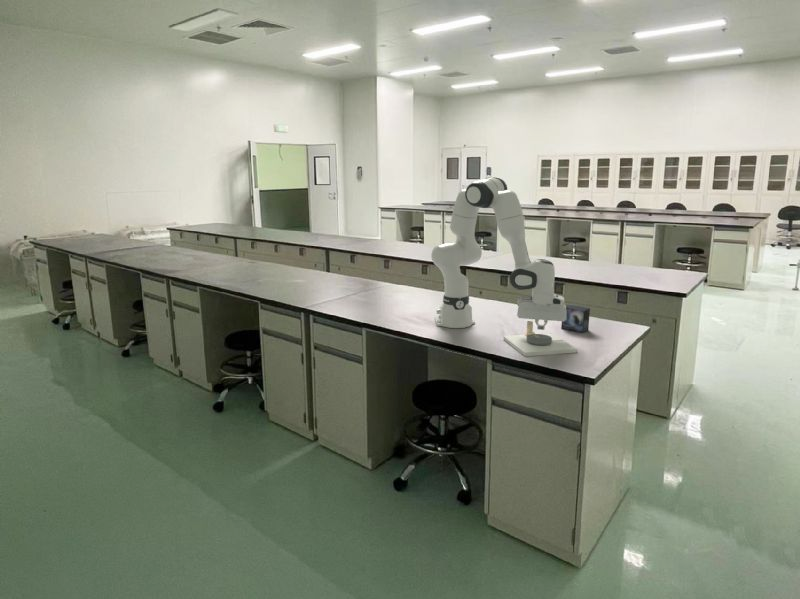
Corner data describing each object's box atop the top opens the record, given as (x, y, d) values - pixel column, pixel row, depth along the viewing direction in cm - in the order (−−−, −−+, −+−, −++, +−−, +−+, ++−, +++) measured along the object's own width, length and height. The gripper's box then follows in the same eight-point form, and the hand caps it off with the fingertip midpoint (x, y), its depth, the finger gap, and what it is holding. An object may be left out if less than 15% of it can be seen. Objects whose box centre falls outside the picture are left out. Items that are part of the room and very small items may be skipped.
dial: (555, 344, 210) (556, 330, 208) (532, 345, 208) (533, 332, 207) (539, 333, 225) (539, 320, 223) (517, 334, 223) (517, 321, 222)
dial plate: (503, 339, 223) (503, 336, 222) (551, 336, 227) (551, 332, 226) (524, 356, 202) (525, 352, 201) (577, 352, 205) (577, 348, 205)
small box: (560, 328, 237) (561, 306, 235) (567, 325, 242) (568, 304, 239) (582, 333, 230) (583, 310, 228) (589, 330, 234) (590, 307, 232)
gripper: (516, 298, 219) (515, 329, 222) (567, 301, 212) (565, 333, 215) (518, 294, 225) (517, 325, 228) (567, 297, 218) (565, 329, 221)
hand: (540, 329), depth 222 cm, fingers closed
